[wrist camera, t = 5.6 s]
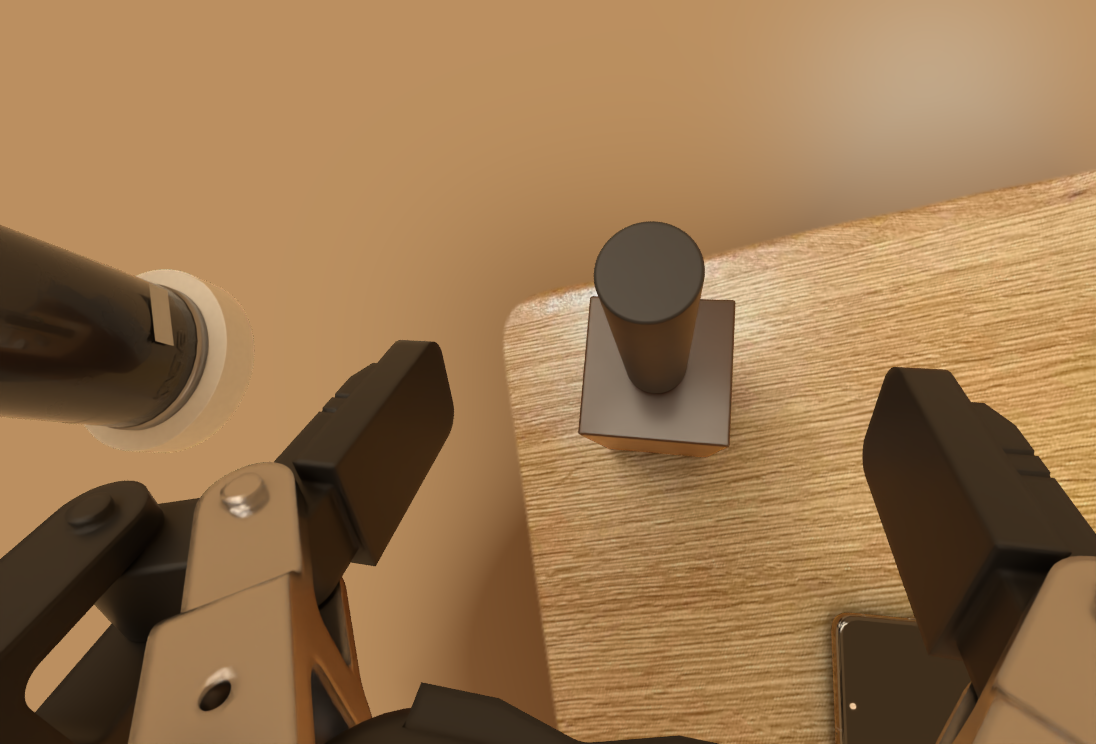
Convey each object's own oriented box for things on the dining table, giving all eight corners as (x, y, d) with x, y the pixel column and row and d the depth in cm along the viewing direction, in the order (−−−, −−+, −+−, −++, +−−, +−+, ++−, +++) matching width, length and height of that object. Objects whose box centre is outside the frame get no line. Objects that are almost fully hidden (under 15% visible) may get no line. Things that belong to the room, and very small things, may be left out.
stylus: (620, 388, 19) (581, 312, 10) (634, 333, 19) (608, 212, 10) (678, 402, 18) (690, 334, 9) (692, 346, 18) (716, 229, 10)
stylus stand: (607, 448, 28) (577, 434, 19) (615, 355, 29) (589, 295, 19) (706, 457, 27) (729, 447, 17) (711, 360, 28) (735, 299, 18)
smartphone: (1333, 879, 19) (841, 800, 22) (1298, 858, 20) (832, 786, 23) (1293, 655, 20) (833, 611, 24) (1262, 647, 21) (826, 606, 25)
